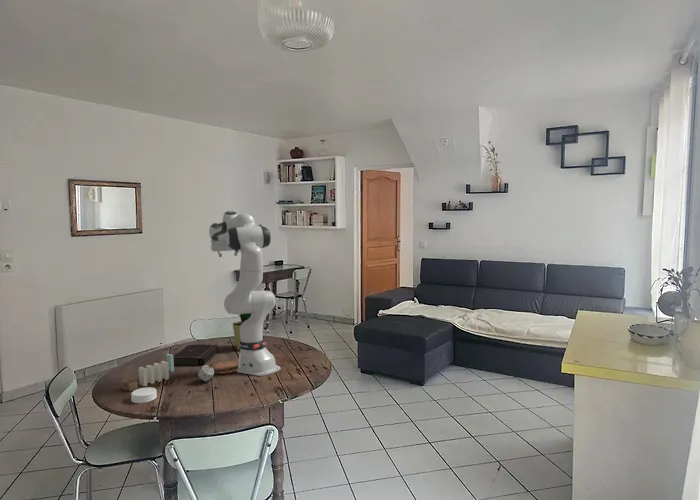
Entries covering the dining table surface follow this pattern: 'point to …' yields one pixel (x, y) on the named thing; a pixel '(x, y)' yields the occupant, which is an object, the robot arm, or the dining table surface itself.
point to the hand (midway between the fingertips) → (227, 255)
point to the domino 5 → (170, 361)
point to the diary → (195, 355)
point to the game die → (205, 373)
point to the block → (130, 385)
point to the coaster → (143, 395)
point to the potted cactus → (237, 328)
